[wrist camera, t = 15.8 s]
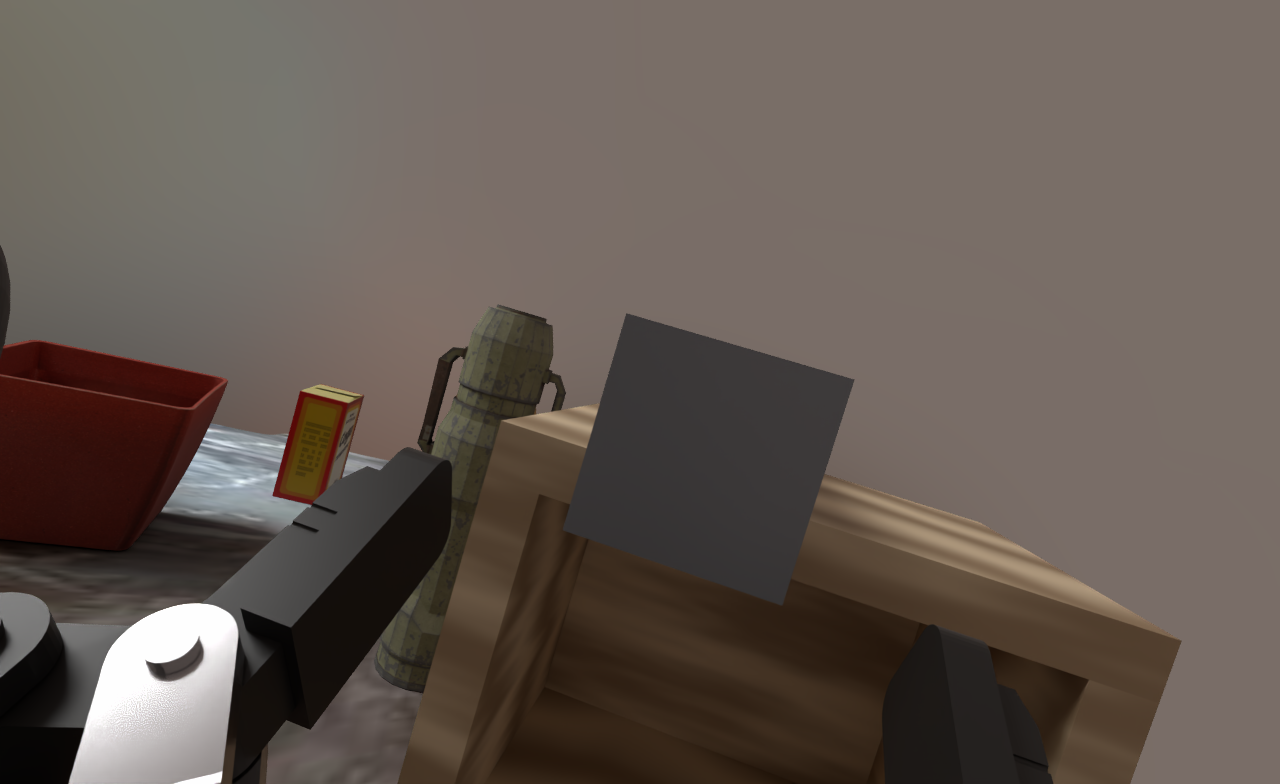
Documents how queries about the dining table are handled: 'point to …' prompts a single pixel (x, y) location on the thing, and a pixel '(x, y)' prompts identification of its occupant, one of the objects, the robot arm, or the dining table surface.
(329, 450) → the baking soda box
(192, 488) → the dining table surface
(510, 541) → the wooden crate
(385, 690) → the dining table surface
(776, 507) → the gray rectangular bar
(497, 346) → the thermos
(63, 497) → the plant pot
